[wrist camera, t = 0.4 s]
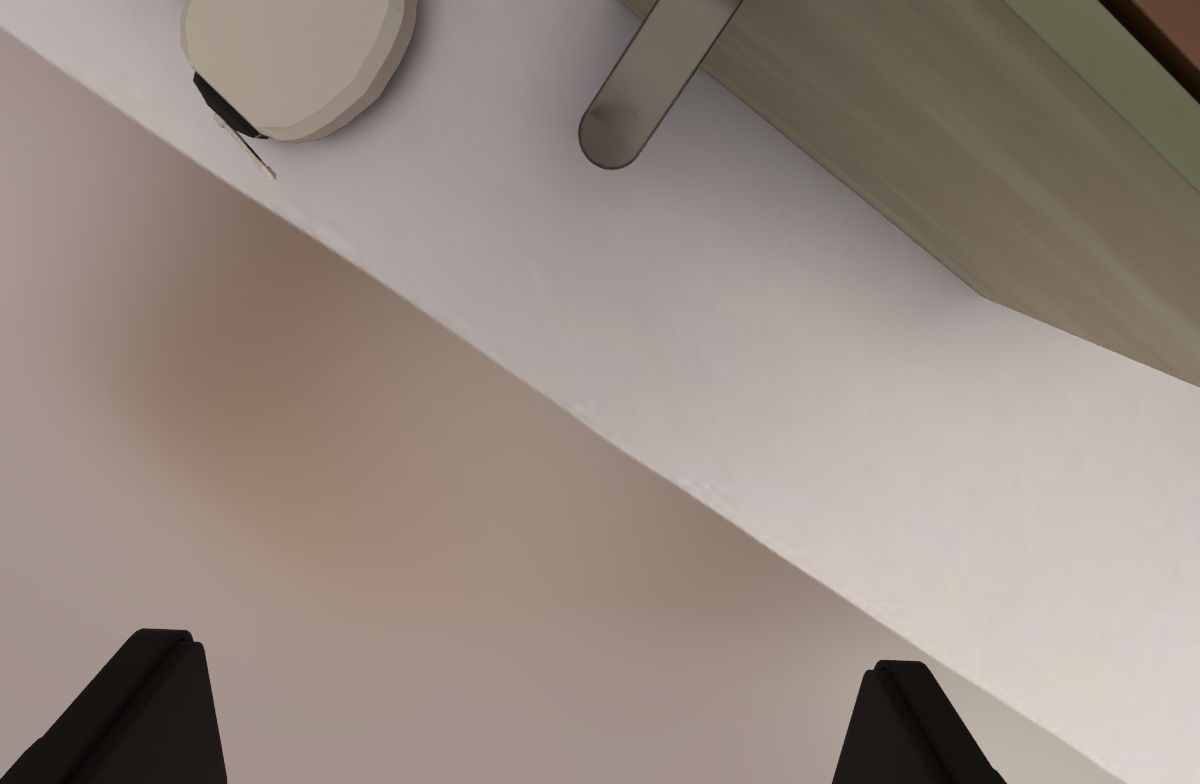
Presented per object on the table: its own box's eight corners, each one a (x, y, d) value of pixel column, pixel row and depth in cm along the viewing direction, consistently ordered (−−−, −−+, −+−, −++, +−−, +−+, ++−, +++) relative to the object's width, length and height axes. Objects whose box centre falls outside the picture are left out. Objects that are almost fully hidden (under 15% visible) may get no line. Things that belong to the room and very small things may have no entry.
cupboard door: (905, 383, 40) (1316, 703, 18) (538, 111, 34) (458, 76, 12) (997, 283, 38) (1593, 504, 16) (622, -26, 32) (722, -388, 10)
